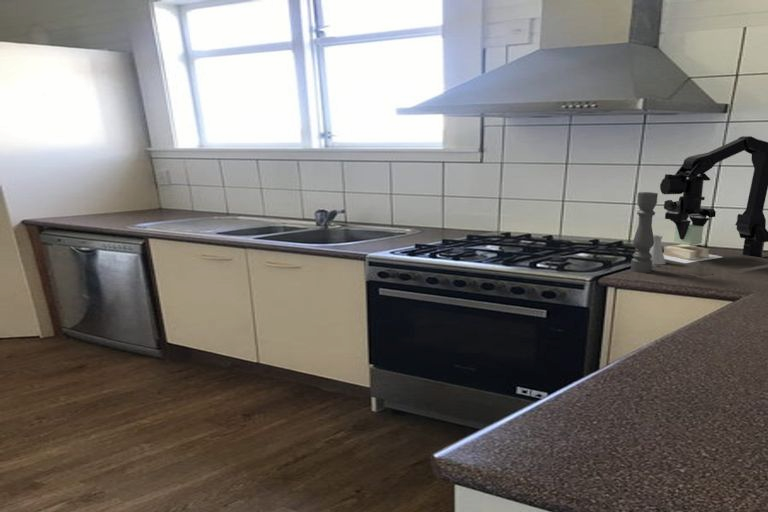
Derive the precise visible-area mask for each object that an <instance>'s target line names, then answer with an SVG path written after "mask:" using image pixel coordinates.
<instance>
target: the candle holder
mask: <svg viewBox="0 0 768 512" xmlns="http://www.w3.org/2000/svg"><path fill="white" fill-rule="evenodd" d="M658 195H659V194H658V192H652V191H651V192H650V191H647V192H646V191H644V192H643V191H641V192H638V193H637V201H636V202H637V206H638V208H639V210H638V211H637V212H636V214H637V215H638V226H637V228H636V232H635V235H634V237H633V241H632V243H633V246H634V247H635V248H634V249H635V251H634V253H632V257H633V258H631V260H630V261H631V263H630V271H632V272H636V273H651V272H652V268H653V266H652V260H651V258H652V255H651V254H650V252H649V251H650V249H651V248H652V246H653V245H654V238H653V235H654V233H653V227H652V225H653V217H654V216H655V215H656V211H654V210H655V207H656V205H657V204H658Z"/></svg>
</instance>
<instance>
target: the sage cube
mask: <svg viewBox="0 0 768 512" xmlns="http://www.w3.org/2000/svg"><path fill="white" fill-rule="evenodd" d="M703 230H704V226H697V225H692V224H691V223H690V224H689V227H688V230H687V232H686V235H685V237H684V239H683V240H682V239H680V237H679V233H678V229H677V226H676V225H675V231H674V239H673V242H674V243H676V244H680V245H681V244H685V245H691V246H695V245H700V244H702V240H703Z"/></svg>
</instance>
